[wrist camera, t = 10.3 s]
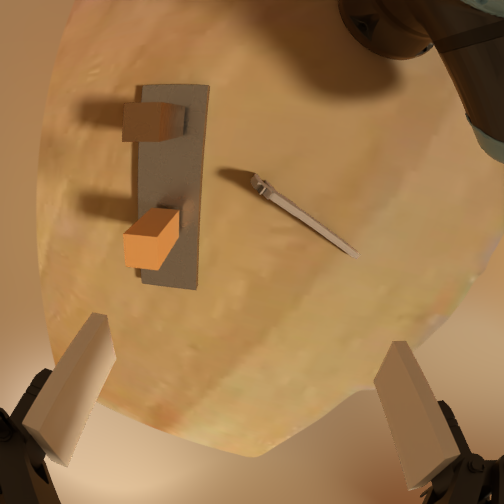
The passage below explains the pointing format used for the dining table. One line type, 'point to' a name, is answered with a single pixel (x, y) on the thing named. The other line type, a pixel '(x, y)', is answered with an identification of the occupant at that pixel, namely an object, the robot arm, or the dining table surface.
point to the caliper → (300, 214)
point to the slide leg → (151, 238)
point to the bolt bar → (171, 169)
